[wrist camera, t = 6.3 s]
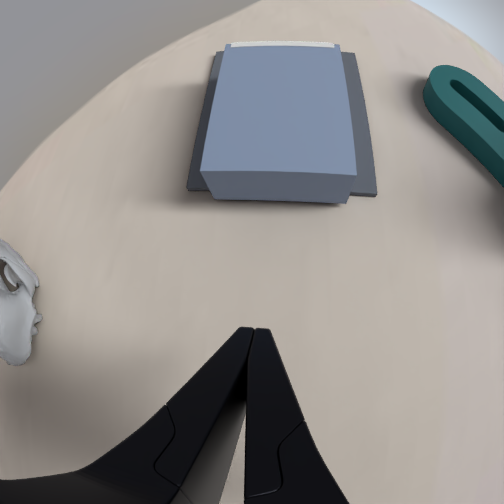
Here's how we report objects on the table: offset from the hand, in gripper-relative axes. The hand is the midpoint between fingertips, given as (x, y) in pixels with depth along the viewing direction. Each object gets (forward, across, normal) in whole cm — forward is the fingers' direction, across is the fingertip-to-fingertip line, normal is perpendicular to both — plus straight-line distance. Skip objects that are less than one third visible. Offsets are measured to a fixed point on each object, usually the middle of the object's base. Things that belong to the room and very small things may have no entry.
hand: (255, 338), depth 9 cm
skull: (+7, +20, +6) cm, 22 cm away
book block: (+10, 0, -1) cm, 10 cm away
